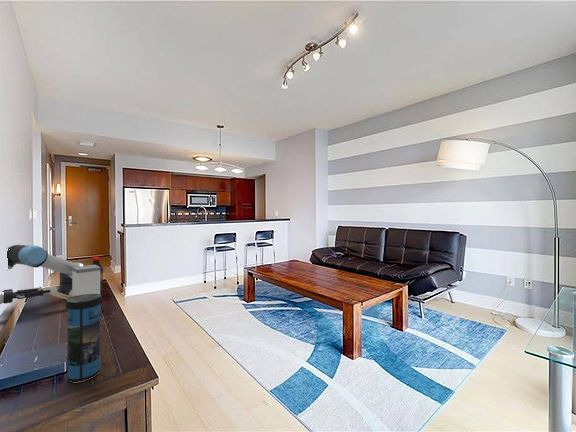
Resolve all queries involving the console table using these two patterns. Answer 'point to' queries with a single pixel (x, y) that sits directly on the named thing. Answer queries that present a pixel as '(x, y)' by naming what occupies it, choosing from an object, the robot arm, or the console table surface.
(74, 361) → the advertising column
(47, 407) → the console table surface
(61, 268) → the robot arm
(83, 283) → the grey-banded white block
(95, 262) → the cola bottle
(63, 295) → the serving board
